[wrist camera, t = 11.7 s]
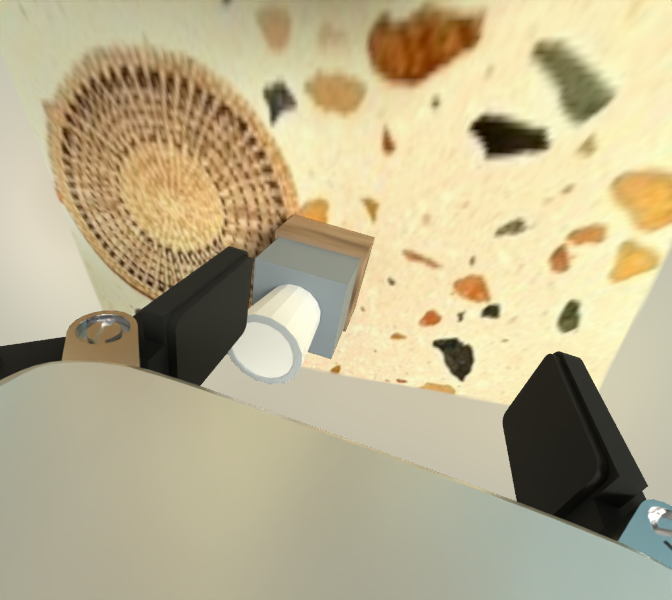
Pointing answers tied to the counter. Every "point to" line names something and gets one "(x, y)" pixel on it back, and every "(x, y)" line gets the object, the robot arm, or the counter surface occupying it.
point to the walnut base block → (331, 245)
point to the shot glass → (277, 335)
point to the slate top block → (310, 284)
